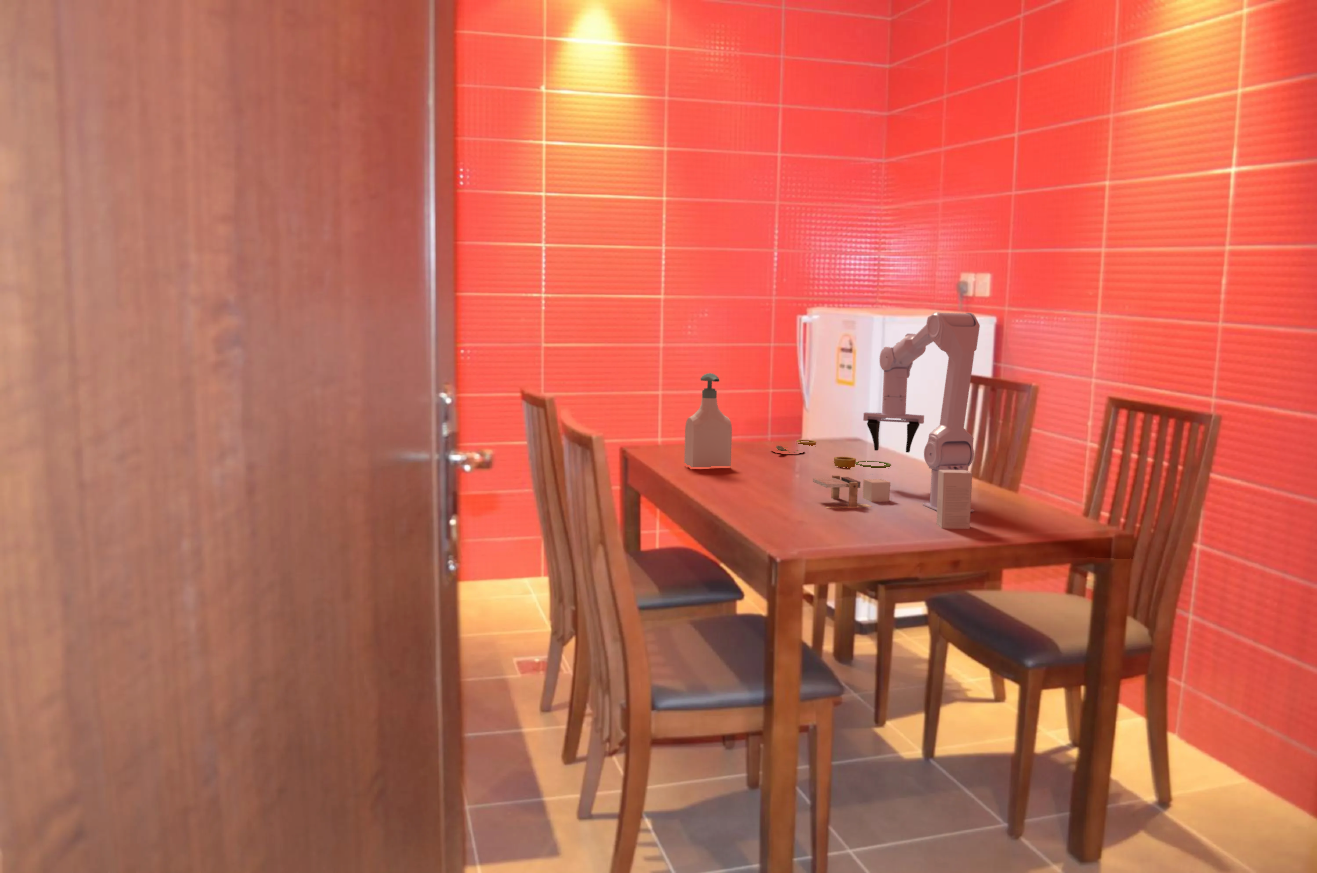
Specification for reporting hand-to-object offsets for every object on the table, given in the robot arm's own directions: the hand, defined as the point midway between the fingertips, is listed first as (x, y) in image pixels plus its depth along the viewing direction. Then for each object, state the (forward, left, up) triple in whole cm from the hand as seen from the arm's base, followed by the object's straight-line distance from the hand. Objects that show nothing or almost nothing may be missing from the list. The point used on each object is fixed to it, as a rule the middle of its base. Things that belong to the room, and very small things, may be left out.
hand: (892, 451), depth 261 cm
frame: (-16, +20, -10) cm, 27 cm away
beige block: (-14, +11, -11) cm, 20 cm away
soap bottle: (+32, +38, -11) cm, 51 cm away
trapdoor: (-16, +20, -5) cm, 26 cm away
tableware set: (+45, -1, -11) cm, 46 cm away
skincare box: (-42, +7, -11) cm, 44 cm away
